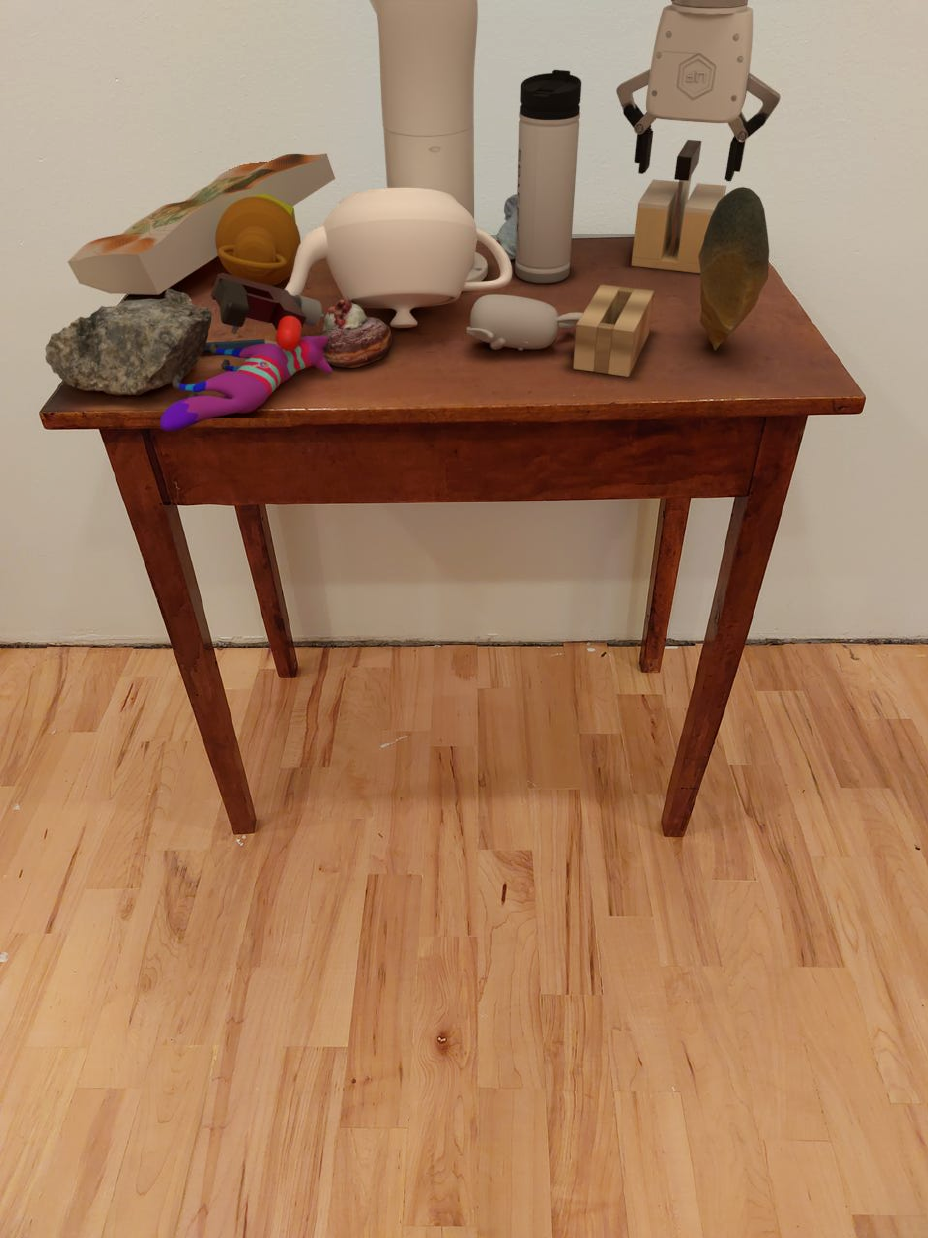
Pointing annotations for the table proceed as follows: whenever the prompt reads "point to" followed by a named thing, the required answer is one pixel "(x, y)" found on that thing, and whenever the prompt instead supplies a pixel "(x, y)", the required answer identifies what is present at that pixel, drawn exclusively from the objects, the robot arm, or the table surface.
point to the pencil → (237, 344)
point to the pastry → (353, 336)
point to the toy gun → (265, 308)
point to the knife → (683, 187)
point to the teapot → (398, 251)
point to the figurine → (509, 227)
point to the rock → (131, 345)
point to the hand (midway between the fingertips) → (685, 173)
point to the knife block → (613, 330)
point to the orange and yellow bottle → (258, 239)
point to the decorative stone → (732, 263)
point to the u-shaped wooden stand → (658, 225)
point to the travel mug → (546, 175)
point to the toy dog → (243, 381)
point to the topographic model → (191, 227)
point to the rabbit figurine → (517, 322)
